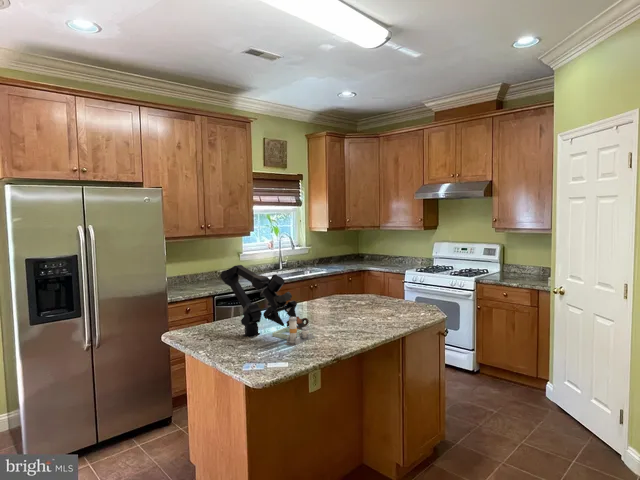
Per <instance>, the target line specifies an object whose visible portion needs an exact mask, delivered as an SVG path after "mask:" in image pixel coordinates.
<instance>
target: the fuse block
mask: <svg viewBox="0 0 640 480" xmlns="http://www.w3.org/2000/svg"><path fill="white" fill-rule="evenodd" d="M314 338H316V336H314V335H313V332H309V334H307V339H303V338H302V332H299V335H298V337H297V338H296V339H295V344H290V336H289V337H287V339H286V342H283V345H285V346H291V347H294V346H297V345H299V344H302V343H304V342H306V341H309V340H312V339H314Z"/></svg>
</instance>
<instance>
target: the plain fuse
mask: <svg viewBox="0 0 640 480" xmlns="http://www.w3.org/2000/svg"><path fill="white" fill-rule="evenodd" d="M309 333H310V327H309V326H306V327H302V338H303V339H307V334H309Z"/></svg>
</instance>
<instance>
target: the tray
mask: <svg viewBox="0 0 640 480" xmlns="http://www.w3.org/2000/svg"><path fill="white" fill-rule="evenodd" d="M299 332H302V330H298V329H297V337H299ZM285 333H290V332H289V327H284V328H281V329H278V330H276V331H273V332H272V335H271V336H272V337H275V338H279V339H286V340H287V337H289V336H290V334H285Z"/></svg>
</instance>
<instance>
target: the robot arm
mask: <svg viewBox="0 0 640 480" xmlns="http://www.w3.org/2000/svg"><path fill="white" fill-rule="evenodd" d="M239 276H240V277H241V278H243V279H244V280H247V281H248V282H250V283H251V286H252V287H253V288H255V289H256V290H257V291H259V290H262V291H260V295H259V297H260V298H262V297H264V299H265V300H266V301H267V306H268V307H267V308H266V309H265V310H264V311H263V314H262V311H261V310H262V309H261V308H260V307H259V304H257V303H252V302H251V300H250V298H249V296H248V295H247V293H246V292H245V290H244V289H243V287H242V285H241V283H240V281H239V278H240V277H239ZM220 278H221V280H222V282H223V283H224V284H225V285H227V286H229V287H230V289H231V290H232V292H233V294H234V295H235V297H236V299H237V301H238V302H239V304H240V306H241V307H242V309H243V310H242V311H243V312H242V314H243V317H242V318H241V319H240V323H241V325H242V326H244V334H242V336H244V337H247V336H248V338H254V337H256V336H258V335H259V336H260V335H261V333H260V332H259V326H258V323H260V322H261V319H262V316H263V318H264V320H268V321H272V322H274V323H276V324H277V325H279V326H282V327H284V326H285V323H284V321H283V320H282V318H281V317H280V315H279V312H282V311H284V312H286V315H287V316H288V317H297V314H296V307H297V305H298V303H297V302H296V300H291V299H292V297H293V295H292V293H291V292H290V291H287V292H285V293H284V294H281V295H280V294H278V292H279V291H280V289H282V287H283V285H284V284H285V279H284V278H283V277H281V276H280V275H278V274H272V276H271V278H269V276H268V277H267V276H265V275H260V274H257V273H255V272H253V271H251V270H249V269H248V268H246V267H244V265H242V264H236V265H234V266H232V267H230V268H228V269H226V270H222V271H221V273H220ZM287 301H288V302H287ZM296 321H297V320H296Z"/></svg>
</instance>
